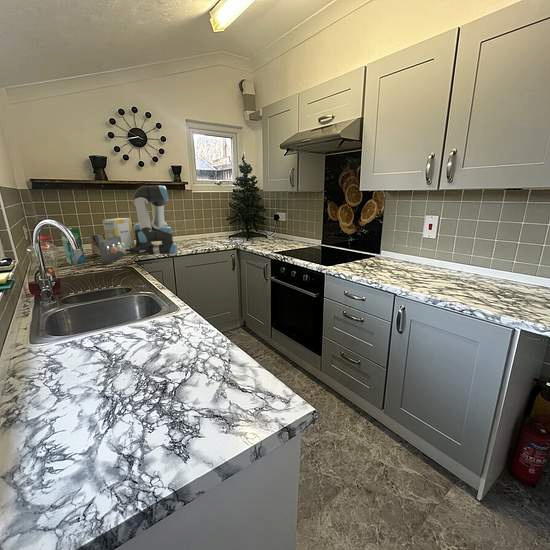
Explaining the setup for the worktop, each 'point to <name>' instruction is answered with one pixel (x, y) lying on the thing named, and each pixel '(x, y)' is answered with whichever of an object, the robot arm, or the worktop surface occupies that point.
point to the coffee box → (96, 243)
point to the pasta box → (120, 231)
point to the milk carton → (70, 253)
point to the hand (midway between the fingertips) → (121, 250)
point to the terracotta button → (113, 250)
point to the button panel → (105, 249)
